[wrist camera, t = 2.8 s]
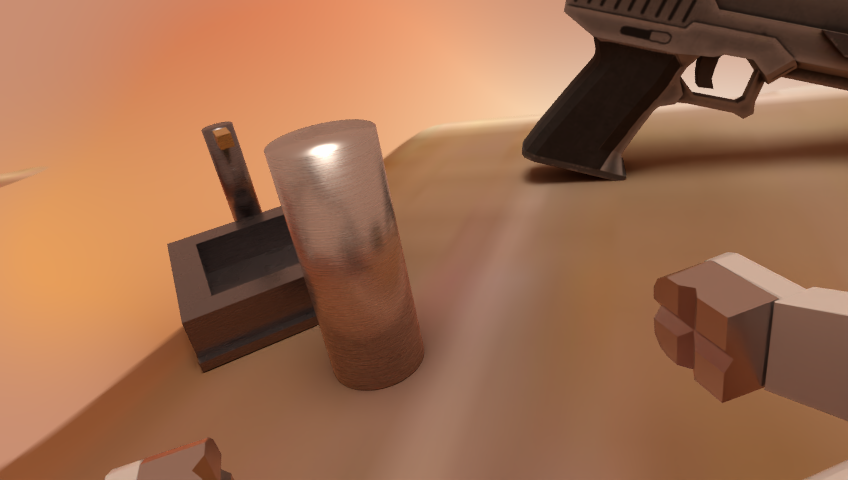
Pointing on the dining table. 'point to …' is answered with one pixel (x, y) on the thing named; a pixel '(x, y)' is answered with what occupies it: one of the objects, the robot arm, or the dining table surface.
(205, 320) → the keeper
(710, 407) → the dining table surface
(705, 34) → the firearm
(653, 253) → the dining table surface
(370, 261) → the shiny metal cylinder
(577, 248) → the dining table surface
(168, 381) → the dining table surface
